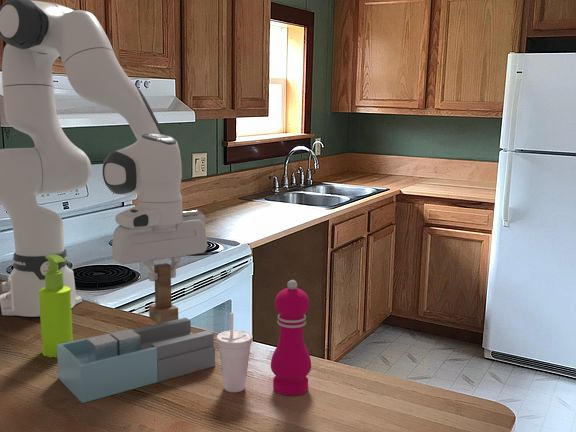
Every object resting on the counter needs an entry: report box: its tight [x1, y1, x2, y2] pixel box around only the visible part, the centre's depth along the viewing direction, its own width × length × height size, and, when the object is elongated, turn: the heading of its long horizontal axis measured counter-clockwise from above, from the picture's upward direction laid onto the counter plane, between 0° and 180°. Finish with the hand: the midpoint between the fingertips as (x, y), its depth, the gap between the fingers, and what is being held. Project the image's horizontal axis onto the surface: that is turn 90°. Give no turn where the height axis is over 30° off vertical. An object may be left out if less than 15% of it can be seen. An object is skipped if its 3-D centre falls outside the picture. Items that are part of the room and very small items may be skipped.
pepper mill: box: [270, 279, 312, 397], centre depth 111 cm, size 7×7×20 cm
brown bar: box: [148, 262, 179, 324], centre depth 133 cm, size 6×4×12 cm
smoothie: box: [216, 312, 254, 393], centre depth 112 cm, size 6×6×14 cm
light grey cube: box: [86, 333, 118, 362], centre depth 114 cm, size 4×4×4 cm
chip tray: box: [56, 328, 159, 404], centre depth 115 cm, size 12×14×6 cm
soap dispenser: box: [39, 255, 74, 358], centre depth 126 cm, size 6×7×20 cm
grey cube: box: [110, 328, 141, 356], centre depth 116 cm, size 4×4×4 cm
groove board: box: [131, 317, 216, 383], centre depth 122 cm, size 12×12×6 cm
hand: (162, 279), depth 132 cm, fingers closed on brown bar, 2 cm apart
